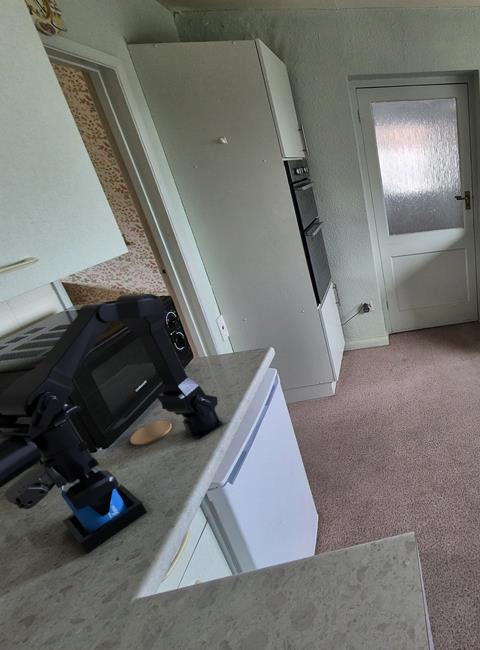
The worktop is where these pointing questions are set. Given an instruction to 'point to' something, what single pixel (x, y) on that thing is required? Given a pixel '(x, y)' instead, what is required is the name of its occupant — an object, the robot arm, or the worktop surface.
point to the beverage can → (90, 516)
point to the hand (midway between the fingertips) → (98, 506)
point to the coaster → (150, 433)
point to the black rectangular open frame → (111, 526)
